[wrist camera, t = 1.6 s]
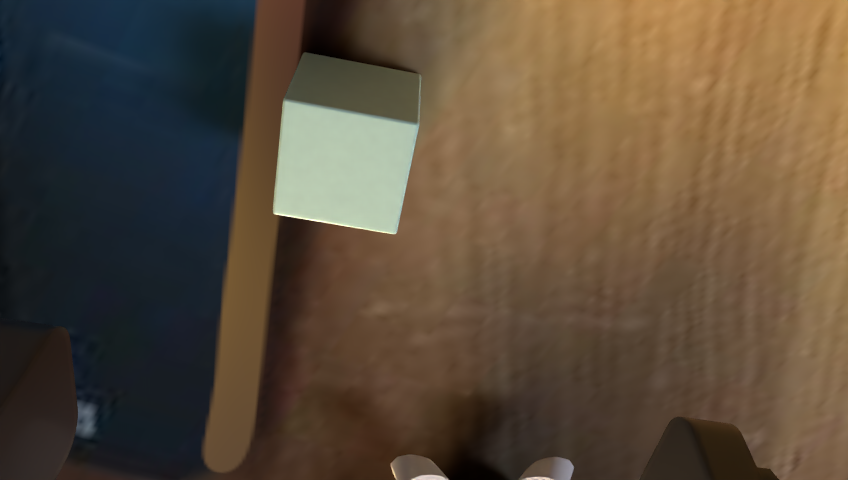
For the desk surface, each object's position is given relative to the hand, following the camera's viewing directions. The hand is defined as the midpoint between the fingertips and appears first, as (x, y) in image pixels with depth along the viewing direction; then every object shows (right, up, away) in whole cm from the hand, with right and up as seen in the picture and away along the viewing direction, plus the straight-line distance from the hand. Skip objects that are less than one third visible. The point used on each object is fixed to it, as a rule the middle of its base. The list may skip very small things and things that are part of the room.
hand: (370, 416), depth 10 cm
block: (-2, +7, +16) cm, 17 cm away
